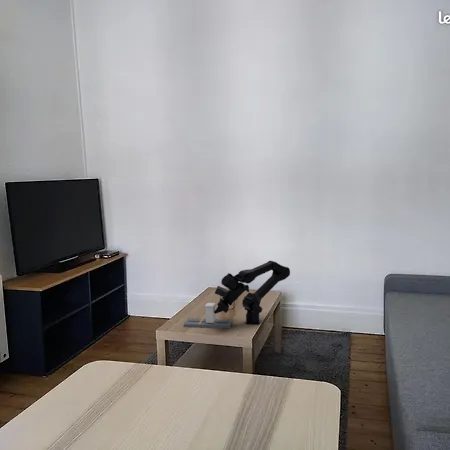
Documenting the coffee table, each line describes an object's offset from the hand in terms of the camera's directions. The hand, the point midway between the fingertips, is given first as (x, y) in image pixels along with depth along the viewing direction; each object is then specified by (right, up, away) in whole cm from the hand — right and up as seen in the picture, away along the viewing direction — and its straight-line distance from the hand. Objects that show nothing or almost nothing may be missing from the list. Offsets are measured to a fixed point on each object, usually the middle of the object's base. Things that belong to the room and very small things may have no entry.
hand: (214, 312), depth 239 cm
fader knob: (-2, -5, +1) cm, 5 cm away
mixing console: (-3, -6, +2) cm, 7 cm away
